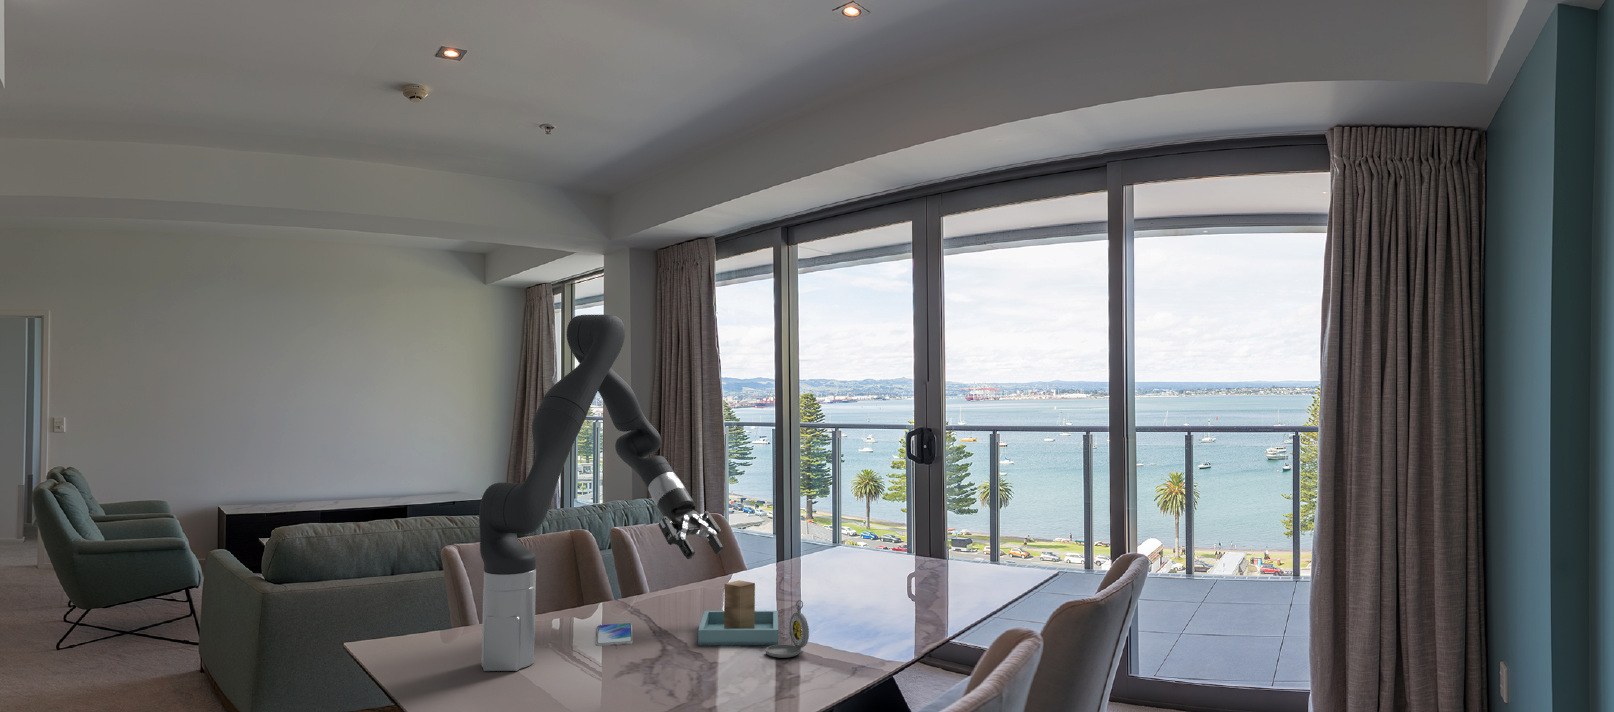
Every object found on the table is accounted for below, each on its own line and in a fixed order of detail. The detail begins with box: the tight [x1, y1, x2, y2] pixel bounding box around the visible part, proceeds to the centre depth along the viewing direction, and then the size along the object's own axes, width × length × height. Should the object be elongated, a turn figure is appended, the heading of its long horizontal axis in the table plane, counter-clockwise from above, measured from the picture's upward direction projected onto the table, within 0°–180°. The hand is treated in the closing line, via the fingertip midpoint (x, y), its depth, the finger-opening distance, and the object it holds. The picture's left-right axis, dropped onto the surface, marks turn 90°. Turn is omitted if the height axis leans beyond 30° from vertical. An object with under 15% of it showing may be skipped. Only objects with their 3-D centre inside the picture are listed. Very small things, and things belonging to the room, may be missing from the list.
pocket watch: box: [765, 599, 810, 659], centre depth 170 cm, size 8×8×10 cm
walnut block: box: [723, 579, 756, 629], centre depth 184 cm, size 4×4×10 cm
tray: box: [697, 610, 779, 646], centre depth 184 cm, size 16×16×3 cm
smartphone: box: [595, 622, 633, 647], centre depth 183 cm, size 7×1×15 cm
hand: (706, 554), depth 191 cm, fingers open, 8 cm apart
